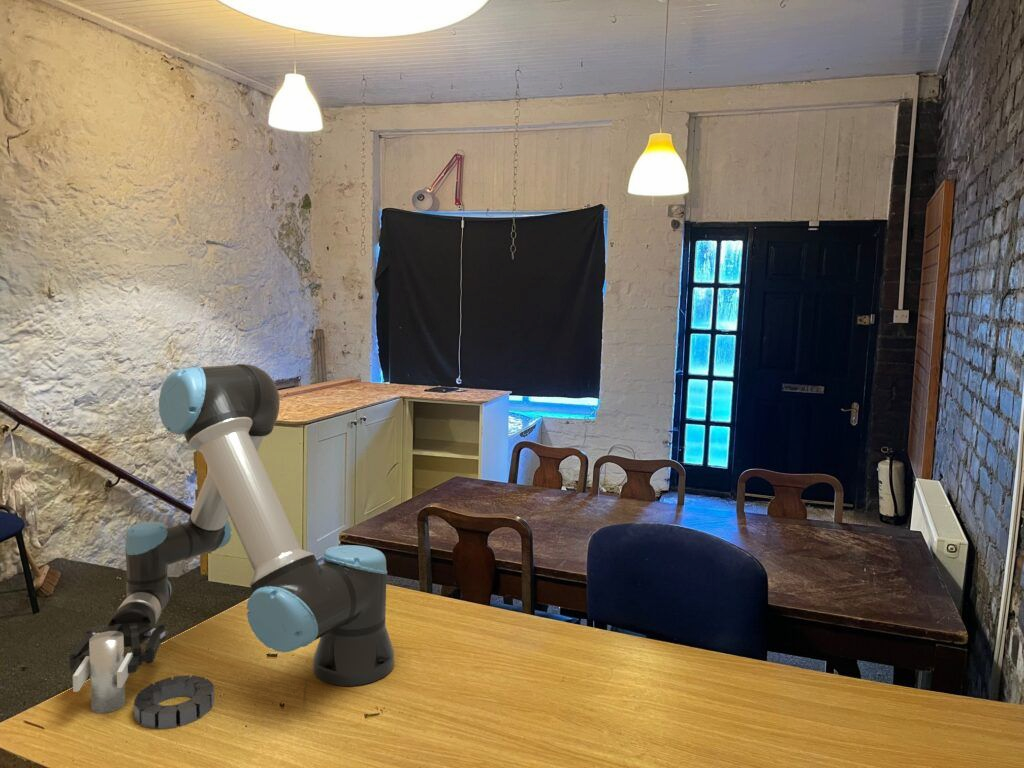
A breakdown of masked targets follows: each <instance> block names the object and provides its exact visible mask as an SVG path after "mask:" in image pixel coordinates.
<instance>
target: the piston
mask: <svg viewBox="0 0 1024 768" xmlns="http://www.w3.org/2000/svg"><path fill="white" fill-rule="evenodd" d="M101 632H102V631H101ZM101 632H98V633H99V634H96V635H94V636H93V637H91V638H90V640H89V650H90V674H89V675H90V677H89V680H90V702H91V703H90V709H91V711H92V712H93V713H94V714H109V713H112V712H114V711H117V710H119V709H121V708H123V706H124V705H125V703H126V684H125V683H126V682H125V683H124V685H123V687H122V688H117V671H118V669H119V667H120V666H121V664H122V662H123V660H124V659H125V647H124V636H123V633H122V632H119V631H107V632H102V633H101Z"/></svg>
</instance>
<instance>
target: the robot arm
mask: <svg viewBox="0 0 1024 768" xmlns="http://www.w3.org/2000/svg"><path fill="white" fill-rule="evenodd" d="M277 387H278V386H277V385H276V383H275V381H274V379H273V378H272V377H271V376H270V375H269V374H268V373H267V372H266V371H265V370H264V369H261V368H259V367H258V366H255V365H252V364H246V363H239V364H238V363H237V364H228V365H214V366H213V365H212V366H197V365H196V366H192V367H188V368H187V367H186V368H178V369H177V370H174V371H173V372H171V373H170V374H169V375H168V376H167V377H166V378H165V380H164V381H163V384H162V386H161V389H160V393H159V394H160V395H159V397H158V410H159V411H158V412H159V417H160V421H161V423H162V425H163V427H164V429H166V430H167V431H168V432H170V433H172V434H173V435H174V434H175V435H178V436H181V435H183V436H184V439H185V440H186V443H187V445H188V447H189V449H192V450H193V451H198V452H200V453H201V454H202V456H203V459H204V460H205V463H206V465H207V467H208V471H207V474H206V476H205V479H204V481H203V483H202V486H201V489H200V490H199V493H198V495H197V497H196V500H195V503H194V504H193V505H194V506H193V508H192V510H191V513H190V514H189V517H188V519H187V522H184V523H180V524H177V525H176V524H175V525H174V526H170V527H167V526H166V524H165V523H163V522H161V521H146V522H139V523H136V524H132V525H130V527H129V528H128V529H127V530H126V533H125V544H124V552H125V563H126V564H125V567H126V580H125V581H126V583H125V585H126V586H125V587H126V596H125V598H124V600H123V601H122V603H121V604H120V605H119V606H118V608H117V609H116V611H115V612H114V615H113V616H112V617H111V619H110V621H109V623H108V625H107V626H106V628H104V629H102V630H101V632H97V633H96V632H93V630H90V629H89V630H86V631H84V637H83V638H82V639H81V640H80V642H79V643H78V644H77V645H76V646H75V647H74V648H73V649H72V651H71V652H70V653H69V654H68V668H69V670H70V671H72V692H73V693H76V692H79V691H80V689H81V688H82V687H83V685H84V683H85V682H86V680H87V679H88V677H89V675H90V650H89V640H90V638H91V637H93V636H94V635H96V634H99V633H102V632H107V631H119V632H122V633H123V636H124V648H129V647H130V652H127V653H126V655H125V656H124V660H123V662H122V664H121V666H120V667H119V669H118V671H117V688H122V687H123V685H124V683H126V681H127V679H128V678H129V676H130V674H135V673H136V672H137V670H138V669H139V667H140V666H141V665H142V664H143V663H146V664H152V663H154V662H155V661H154V660H155V658H156V656H157V653H158V651H159V648H160V646H161V643H162V642H164V641H165V640H166V625H158V626H157V627H155V626H156V624H157V622H158V621H159V618H160V616H161V615H162V613H163V611H164V609H165V608H166V606H168V603H169V600H171V594H172V585H171V582H170V580H169V579H168V571H169V570H168V566H169V565H172V564H175V563H179V562H181V561H185V560H188V559H191V558H194V557H197V556H201V555H204V554H208V553H212V552H214V551H216V550H218V549H220V548H223V547H225V546H227V545H228V544H229V542H230V541H231V538H232V534H231V532H232V526H231V523H232V524H233V527H234V530H235V532H236V533H237V535H238V537H239V541H240V542H241V545H242V547H243V549H244V551H245V554H246V556H247V558H248V561H249V562H250V565H251V568H252V570H253V576H252V578H251V580H250V583H249V586H250V589H251V592H252V594H251V595H250V596H249V599H248V601H247V605H246V609H247V610H248V611H247V613H246V616H247V617H246V618H247V620H248V623H249V627H250V629H251V630H252V632H253V634H254V635H255V637H256V638H257V639H258V640H259V641H260V642H261V644H263V645H264V646H266V647H267V648H269V649H272V650H273V651H276V652H279V653H290V652H294V651H295V650H298V649H300V648H303V647H307V646H308V645H310V644H312V643H313V642H314V641H317V640H319V641H318V643H317V647H316V649H315V652H314V656H313V673H314V675H315V676H316V678H318V680H320V681H322V682H324V683H327V684H330V685H334V686H341V687H343V686H344V687H352V686H362V685H366V684H371V683H374V682H377V681H378V680H381V679H383V678H385V677H386V676H388V675H389V673H390V672H391V671H392V670H393V669H394V665H395V650H394V648H393V645H392V641H391V639H390V635H389V631H388V629H387V625H386V615H387V613H386V611H387V578H388V577H387V575H388V570H387V559H386V555H385V554H384V553H383V552H382V551H381V550H379V549H376V548H373V547H369V546H364V545H355V544H354V545H352V544H351V545H350V544H346V545H344V544H343V545H335V546H332V547H328V548H327V549H325V551H324V554H323V556H322V560H323V563H322V564H319V563H318V560H317V558H316V556H315V554H314V553H313V552H310V551H307V550H304V549H302V547H301V545H300V543H299V541H298V538H297V536H296V535H295V532H294V530H293V527H292V526H291V523H290V521H289V519H288V517H287V514H286V512H285V510H284V507H283V505H282V504H281V501H280V499H279V497H278V494H277V492H276V490H275V488H274V486H273V484H272V481H271V480H270V479H271V478H269V475H268V473H267V470H266V468H265V465H264V464H263V462H262V460H261V458H260V455H259V454H258V451H259V449H260V447H261V444H262V442H263V440H264V438H265V437H268V436H270V435H271V434H272V432H273V430H274V427H275V425H276V422H277V419H278V416H279V413H280V402H281V401H280V394H279V393H280V392H279V390H278V388H277ZM229 517H230V520H231V523H230V521H229ZM148 639H149V640H148ZM147 640H148V642H147V645H146V648H145V650H143V651H142V647H141V644H143V643H144V642H146V641H147Z"/></svg>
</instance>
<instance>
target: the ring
mask: <svg viewBox="0 0 1024 768" xmlns="http://www.w3.org/2000/svg"><path fill="white" fill-rule="evenodd" d="M178 697H188V698H190V699H188V700H185V701H183V702H180V703H178V704H169V705H162V704H160V703H162V702H163V701H167V700H170V699H172V698H178ZM214 703H215V685H214V683H213V682H212V681H211V680H210V679H208V678H206V676H205V677H204V676H200V675H190V674H187V675H175V676H173V678H172V677H167V678H163V679H160V680H158V681H154V683H151V684H149V685H147V686H146V687H144V688H143V689H141V690H140V691H139V693H138V692H137V694H136V697H135V699H134V701H133V717H134V720H135V721H136V723H138V725H139V726H140V725H141V727H145V728H149V729H153V730H155V729H157V728H158V730H164V729H165V730H166V729H173V728H177V726H178V725H179V727H182V726H185V725H187V724H188V725H189V723H194V722H196V721H197V720H198V719H201V718H202V717H204V716H205V715H207V713H209V712H210V711H211V709H212V708H213V706H214Z"/></svg>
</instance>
